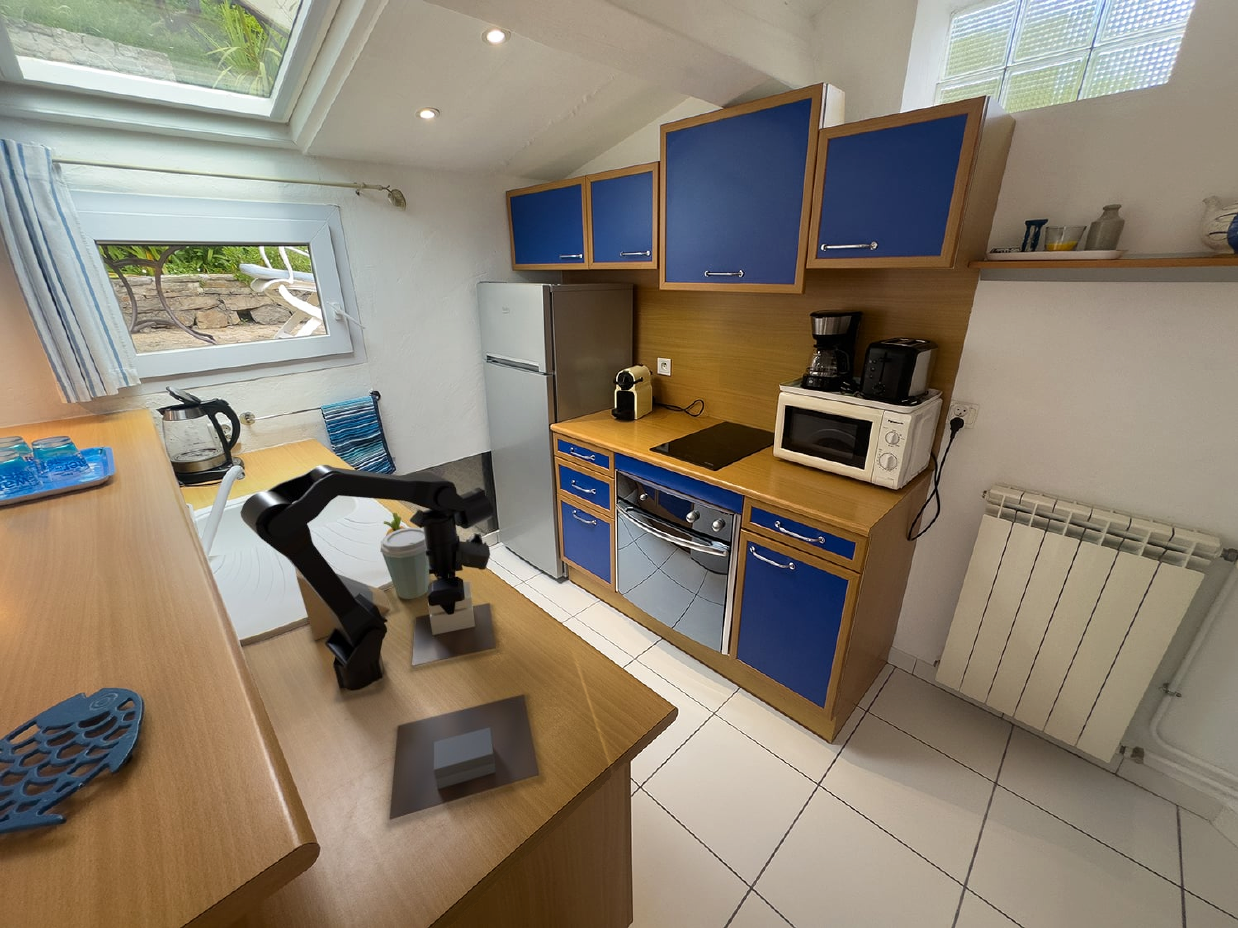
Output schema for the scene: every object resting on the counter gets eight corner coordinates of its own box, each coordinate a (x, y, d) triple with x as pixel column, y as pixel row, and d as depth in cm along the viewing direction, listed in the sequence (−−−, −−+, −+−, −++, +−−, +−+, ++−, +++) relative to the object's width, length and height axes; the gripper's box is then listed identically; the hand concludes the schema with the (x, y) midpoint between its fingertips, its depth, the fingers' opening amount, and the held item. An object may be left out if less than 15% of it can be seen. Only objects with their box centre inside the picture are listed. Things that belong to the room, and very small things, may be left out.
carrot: (407, 577, 116) (397, 521, 110) (388, 574, 117) (377, 519, 111) (419, 565, 121) (410, 511, 115) (400, 562, 121) (391, 509, 116)
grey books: (437, 789, 69) (433, 770, 67) (437, 760, 73) (433, 741, 71) (495, 772, 71) (493, 753, 70) (492, 745, 75) (490, 726, 74)
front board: (390, 824, 66) (389, 819, 65) (398, 729, 79) (397, 725, 78) (539, 779, 72) (539, 774, 71) (524, 698, 85) (524, 693, 84)
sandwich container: (397, 611, 105) (385, 551, 99) (314, 641, 96) (296, 577, 91) (387, 591, 111) (375, 533, 105) (309, 617, 103) (292, 556, 97)
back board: (412, 670, 90) (411, 665, 90) (415, 620, 102) (415, 616, 102) (496, 651, 95) (495, 647, 94) (489, 606, 107) (489, 602, 106)
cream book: (429, 614, 95) (427, 605, 94) (430, 597, 100) (428, 588, 99) (472, 606, 97) (471, 597, 97) (470, 589, 102) (469, 581, 101)
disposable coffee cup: (383, 589, 112) (372, 532, 106) (431, 572, 118) (423, 517, 112) (397, 614, 104) (385, 554, 98) (447, 595, 110) (439, 537, 104)
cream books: (432, 635, 97) (429, 617, 95) (433, 617, 102) (430, 599, 100) (474, 626, 99) (472, 609, 98) (473, 609, 104) (471, 592, 103)
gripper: (489, 556, 87) (496, 626, 93) (481, 509, 104) (487, 571, 109) (422, 567, 84) (434, 639, 90) (425, 517, 100) (435, 580, 106)
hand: (450, 604), depth 99 cm, fingers closed on cream book, 5 cm apart
